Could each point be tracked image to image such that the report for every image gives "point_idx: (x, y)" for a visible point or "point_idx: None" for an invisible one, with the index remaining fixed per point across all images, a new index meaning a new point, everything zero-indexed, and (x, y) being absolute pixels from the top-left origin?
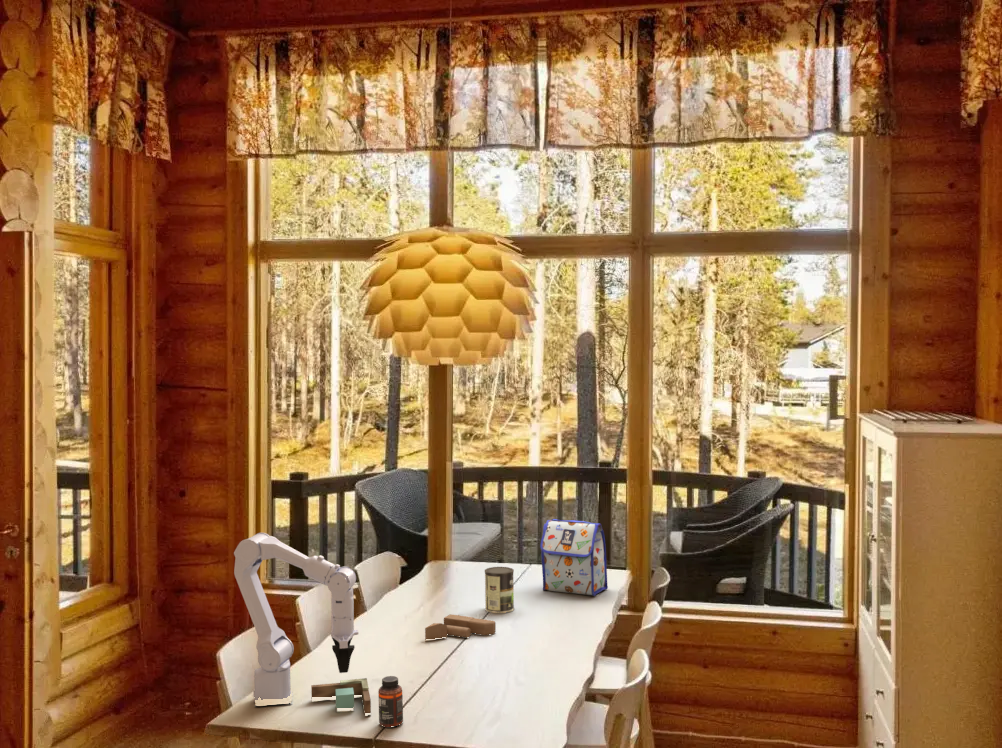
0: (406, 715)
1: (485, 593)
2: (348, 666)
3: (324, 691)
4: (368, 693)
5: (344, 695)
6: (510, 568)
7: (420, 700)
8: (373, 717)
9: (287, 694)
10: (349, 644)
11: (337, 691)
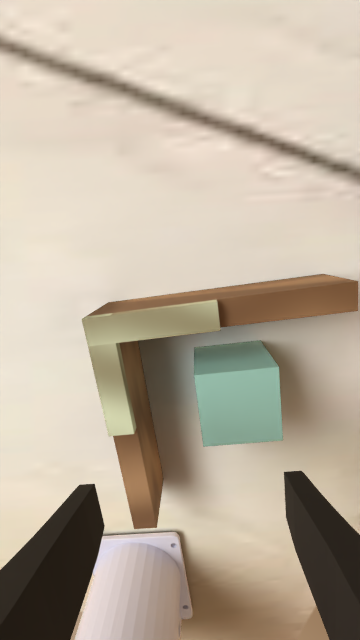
0: (352, 110)
1: None
2: (328, 503)
3: (150, 468)
4: (263, 297)
5: (280, 405)
6: None
7: (182, 42)
8: (339, 262)
9: (155, 569)
10: (4, 625)
11: (232, 437)
